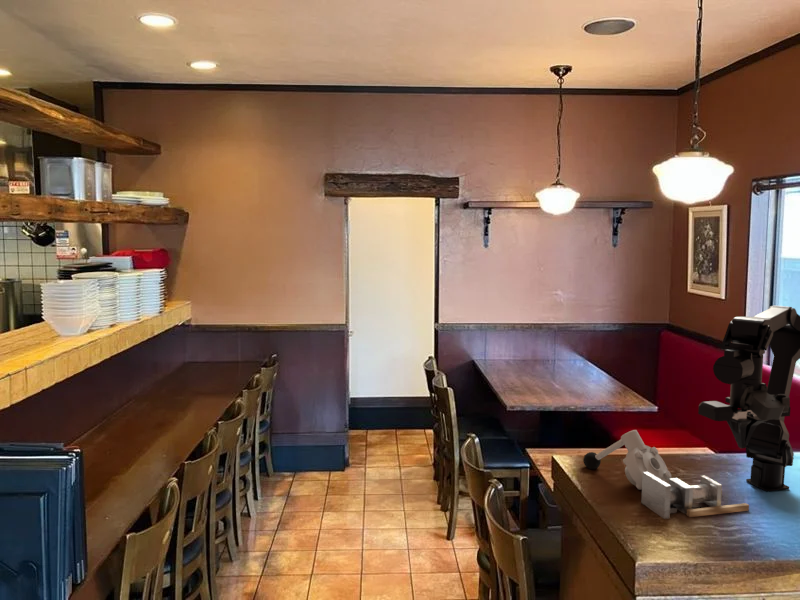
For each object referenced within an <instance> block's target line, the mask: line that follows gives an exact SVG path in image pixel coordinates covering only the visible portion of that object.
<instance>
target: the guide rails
mask: <svg viewBox="0 0 800 600" xmlns="http://www.w3.org/2000/svg"><path fill="white" fill-rule="evenodd" d="M722 496H723V493H722V494H721V497H722ZM749 510H750V504H748V503H746V502H744V503H735V504H727V505H726V504H725V505H721V506H715V507H711V506H708V507H707V506H706V507H701V508H700V507H698V508H692V509H688V510H687V513H686V516H687V517H689V518H694V517H695V518H696V517H703V516H712V515H720V514H729V513H737V512H738V513H739V512H746V511H747V512H749Z"/></svg>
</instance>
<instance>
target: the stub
mask: <svg viewBox="0 0 800 600" xmlns="http://www.w3.org/2000/svg"><path fill="white" fill-rule="evenodd" d="M673 478H674V477H671V479H669V482H668V484H667V483H666V482H664V481H662V480H661V479H659V478H657V477H656V476H654V475H652V474H651V473H649V472H643V478H642V489H641V500H640V501H641V502H640V503H641V504H642V505H643V506H645V507H647V508H648V510H649V509H650V511H652V512H654V513H655V514H657V515H658V516H659V517H661V518H662V519H664V520H666V519H670V514H677V512H678V511H680V513H683V514H687V510H688V509H689V493H690V488H689V487H687V486H685V485H684V484H682V483H680V482H679V481H677V480H675V479H673Z"/></svg>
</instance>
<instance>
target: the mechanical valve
mask: <svg viewBox="0 0 800 600" xmlns="http://www.w3.org/2000/svg"><path fill="white" fill-rule="evenodd" d="M623 446H625V449H626V450H627V453H626V455H625V457H624V458H623V460H622V461H623V464H624V465H626V466H625V468H624V473H625V476H626V478H627V481H629V483H631V484H632V485H634V486H635V487H636V488H637V490H641V491H642V478H643V472H649V473H651V474H652V475H654V476H656V477H657V478H659V479H661V480H662V481H664V482H666V483H667V484H669V479H671V478H673V477H672V473H671V472H670V471H669V469H668V467H667V465H666V462H665V461H664V460H663V458H662V457H661V455H660V454H659V450H658V449H657V447H655V446H653V447H651V446H649V445H646V444H645V443H644V441H643V439H642V437H641V436H640V434H639V432H638V430H637V429H632V430H630V431H628V432H626V433H624V434H622V435H621V436H620V439H619V440H617V441H616V442H614V443H613V444H611V445H610V446H607V447H606V448H605V449H603V450H601V451H599V452H598V453H596V452H594V451H591V452H590V451H588V452H587V453H585V454H584V457H583V464H584V466H585V467H586V468H587V469H589V470H596V469H598V468H599V467H600V466H601V463H602V461H601V459H603V458H605V457H607V456H608V455H610V454H612V453H613V452H615V451H617V450H618V449H620V448H623Z"/></svg>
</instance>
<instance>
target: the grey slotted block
mask: <svg viewBox="0 0 800 600" xmlns="http://www.w3.org/2000/svg"><path fill="white" fill-rule="evenodd" d="M672 478H673V479H675V480H677V481H679V482H680V483H682V484H684V485H685V486H687V487H689V488H690V493H689V509H693V504H696V503H697V504H698V503H704V504H706V505H707V506H708V507H715V506H722V496H721V494H722V495H723V484H721V483H719V482H717V481H716V480H713V479H712V478H710V477H709V476H707V475H705V474H704V475H700V479H699V480H700V483H699V484H694V485H689V484H688V483H686V482H685V481H683V480H681V479H680V478H678V477H672Z"/></svg>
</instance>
